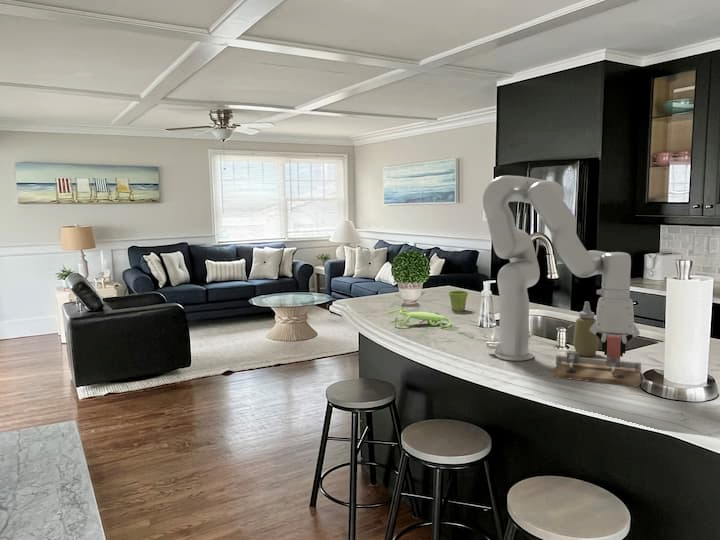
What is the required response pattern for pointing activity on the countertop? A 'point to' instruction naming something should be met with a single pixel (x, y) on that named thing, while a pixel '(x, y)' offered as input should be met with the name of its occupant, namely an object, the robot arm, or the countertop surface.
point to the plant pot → (458, 300)
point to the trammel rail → (592, 361)
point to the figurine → (421, 317)
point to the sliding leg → (613, 351)
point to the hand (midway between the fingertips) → (613, 354)
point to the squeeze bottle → (585, 333)
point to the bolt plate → (598, 373)
